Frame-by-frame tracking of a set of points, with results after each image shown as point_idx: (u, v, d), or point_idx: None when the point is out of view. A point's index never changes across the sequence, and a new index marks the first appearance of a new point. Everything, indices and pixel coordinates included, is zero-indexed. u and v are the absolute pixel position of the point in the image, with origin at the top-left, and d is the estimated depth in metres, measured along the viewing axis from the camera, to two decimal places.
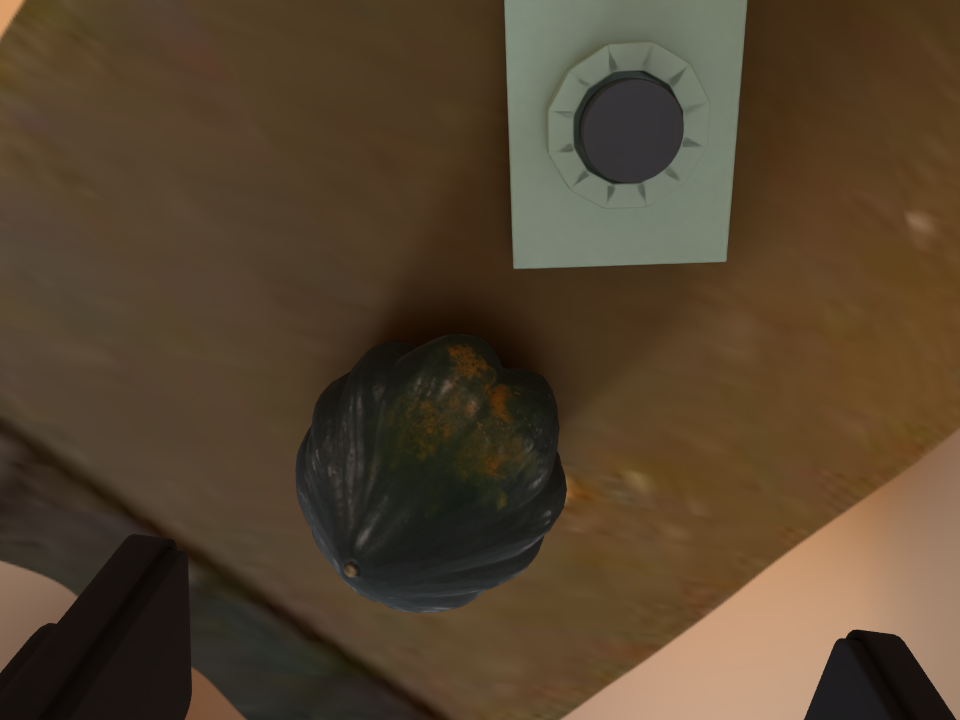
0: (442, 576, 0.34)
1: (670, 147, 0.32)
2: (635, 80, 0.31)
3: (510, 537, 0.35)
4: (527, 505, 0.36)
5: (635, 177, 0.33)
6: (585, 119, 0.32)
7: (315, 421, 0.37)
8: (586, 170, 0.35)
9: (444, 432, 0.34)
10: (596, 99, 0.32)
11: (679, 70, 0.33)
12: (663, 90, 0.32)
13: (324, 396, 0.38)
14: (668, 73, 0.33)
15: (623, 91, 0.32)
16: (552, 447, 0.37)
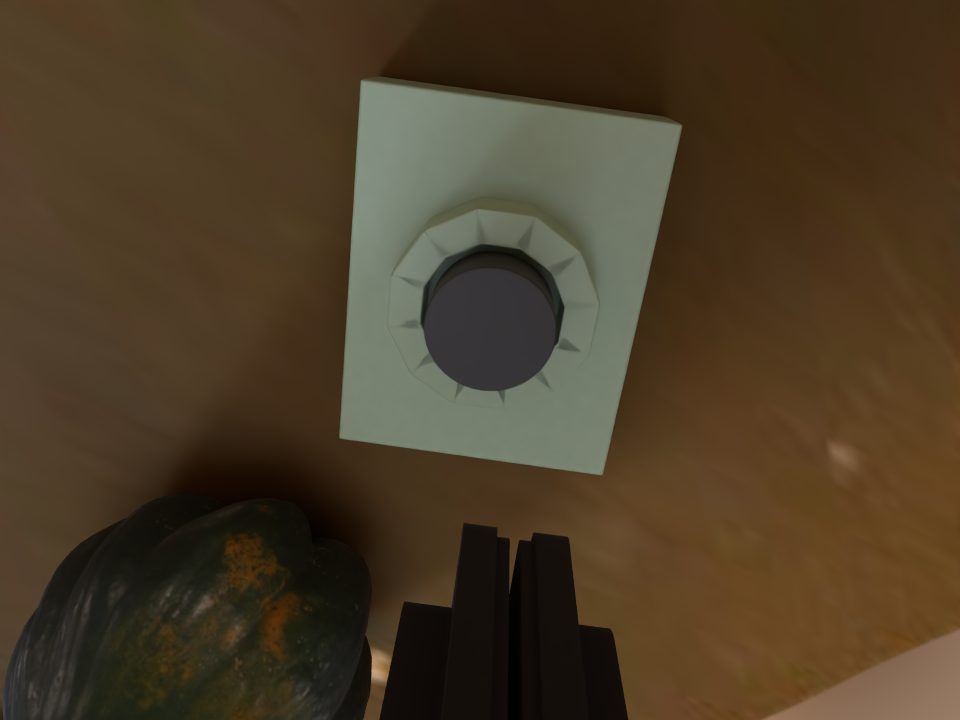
0: None
1: (535, 358, 0.25)
2: (499, 270, 0.23)
3: None
4: None
5: (486, 385, 0.25)
6: (429, 304, 0.24)
7: (41, 601, 0.28)
8: None
9: (183, 672, 0.25)
10: (446, 283, 0.24)
11: (565, 258, 0.25)
12: (534, 288, 0.24)
13: (66, 564, 0.30)
14: (551, 259, 0.25)
15: (483, 280, 0.24)
16: (342, 682, 0.29)
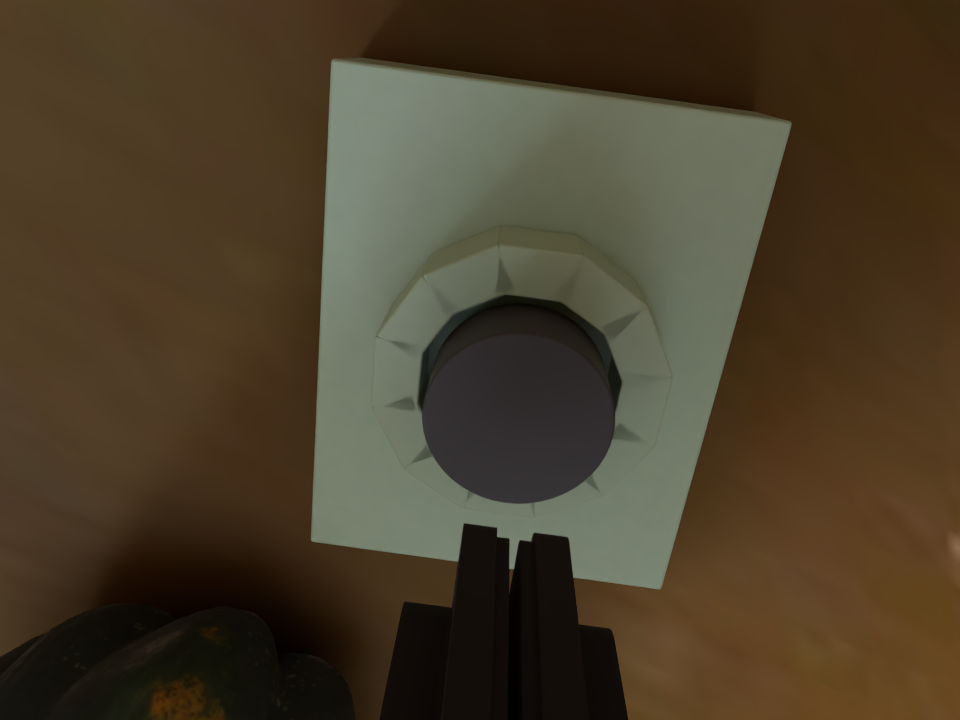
0: None
1: (584, 459, 0.17)
2: (533, 337, 0.16)
3: None
4: None
5: (512, 495, 0.17)
6: (430, 384, 0.17)
7: None
8: None
9: None
10: (455, 355, 0.16)
11: (625, 314, 0.17)
12: (585, 364, 0.16)
13: None
14: (604, 315, 0.17)
15: (508, 351, 0.16)
16: None
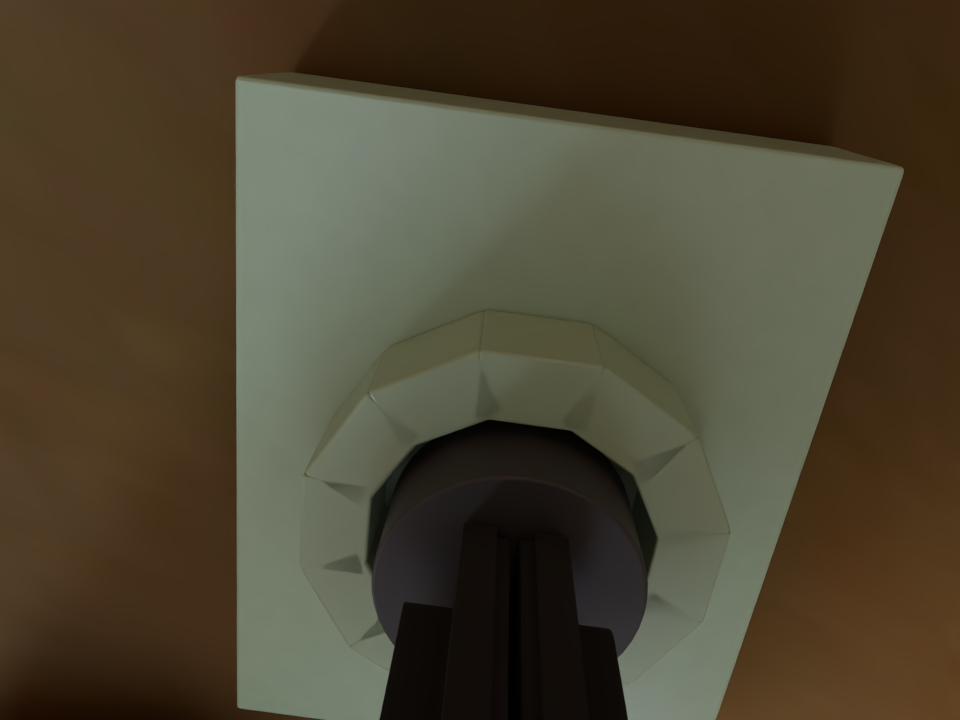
0: None
1: None
2: (530, 483, 0.11)
3: None
4: None
5: None
6: (382, 544, 0.11)
7: None
8: None
9: None
10: (416, 505, 0.11)
11: (665, 448, 0.12)
12: (605, 520, 0.11)
13: None
14: (634, 449, 0.12)
15: (494, 502, 0.11)
16: None
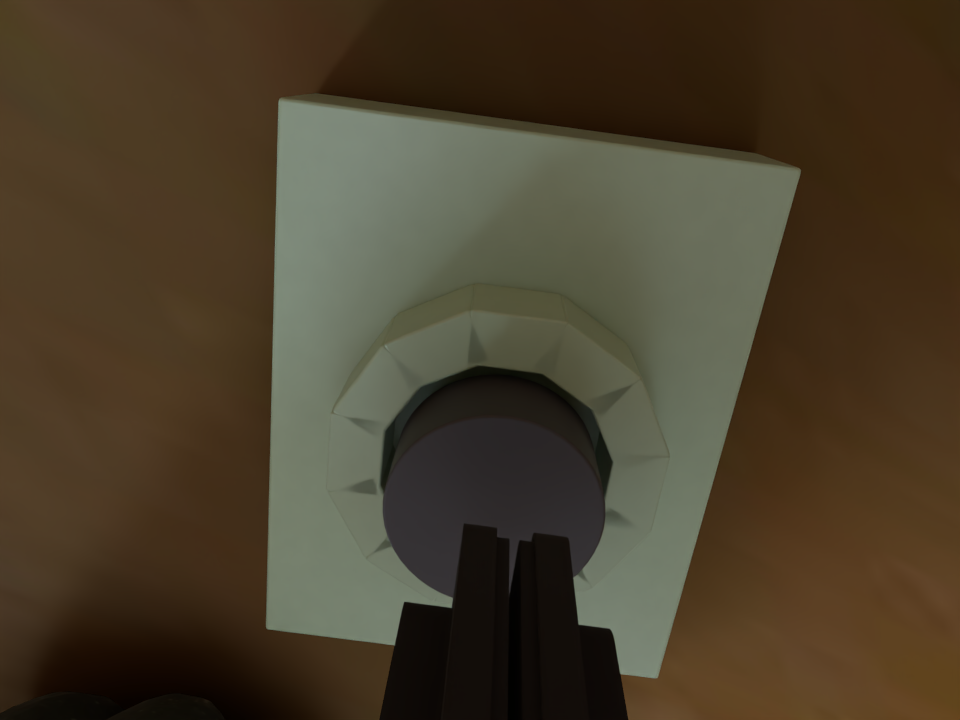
0: None
1: None
2: (510, 420, 0.14)
3: None
4: None
5: None
6: (391, 473, 0.14)
7: None
8: None
9: None
10: (419, 440, 0.14)
11: (616, 387, 0.15)
12: (569, 450, 0.14)
13: None
14: (592, 388, 0.15)
15: (481, 436, 0.14)
16: None
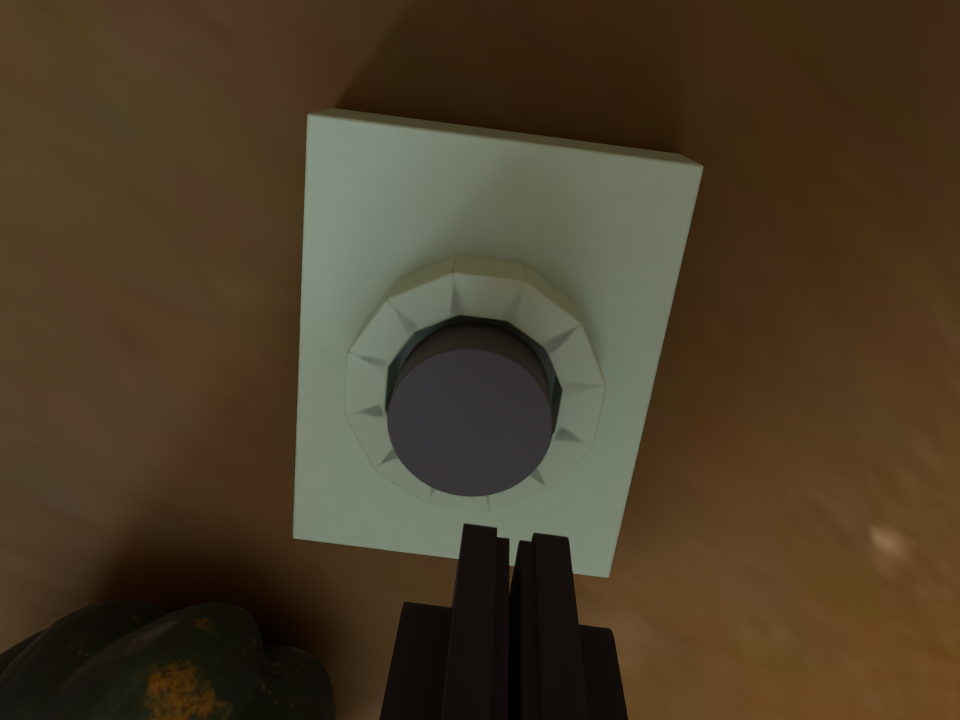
0: None
1: (527, 457, 0.20)
2: (480, 351, 0.19)
3: None
4: None
5: (467, 489, 0.20)
6: (393, 393, 0.19)
7: None
8: None
9: None
10: (414, 367, 0.19)
11: (563, 331, 0.20)
12: (525, 373, 0.19)
13: None
14: (545, 332, 0.20)
15: (460, 363, 0.19)
16: None
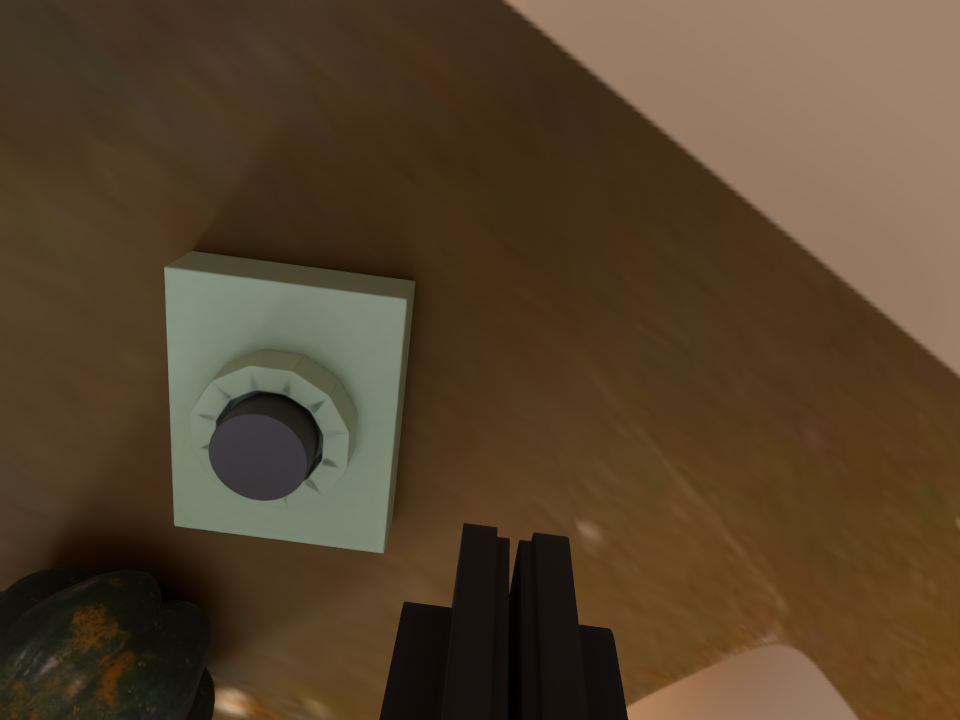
0: None
1: (294, 477, 0.33)
2: (259, 415, 0.31)
3: None
4: None
5: (260, 496, 0.33)
6: (211, 439, 0.32)
7: None
8: None
9: (30, 718, 0.33)
10: (221, 424, 0.32)
11: (319, 400, 0.33)
12: (286, 428, 0.32)
13: None
14: (308, 401, 0.33)
15: (247, 422, 0.32)
16: None
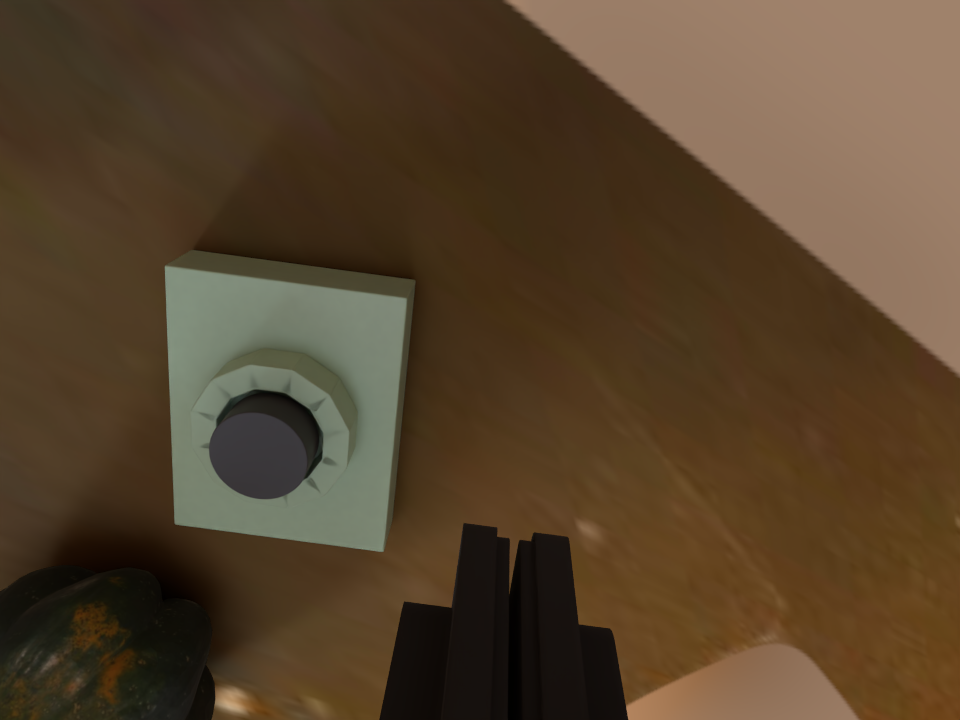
0: None
1: (294, 476, 0.33)
2: (259, 414, 0.31)
3: None
4: None
5: (261, 495, 0.33)
6: (211, 437, 0.32)
7: None
8: None
9: (31, 715, 0.33)
10: (221, 422, 0.32)
11: (319, 399, 0.33)
12: (286, 427, 0.32)
13: None
14: (308, 399, 0.33)
15: (248, 421, 0.32)
16: (170, 719, 0.37)
